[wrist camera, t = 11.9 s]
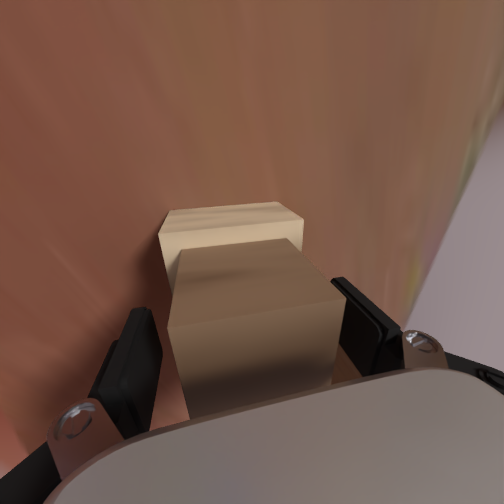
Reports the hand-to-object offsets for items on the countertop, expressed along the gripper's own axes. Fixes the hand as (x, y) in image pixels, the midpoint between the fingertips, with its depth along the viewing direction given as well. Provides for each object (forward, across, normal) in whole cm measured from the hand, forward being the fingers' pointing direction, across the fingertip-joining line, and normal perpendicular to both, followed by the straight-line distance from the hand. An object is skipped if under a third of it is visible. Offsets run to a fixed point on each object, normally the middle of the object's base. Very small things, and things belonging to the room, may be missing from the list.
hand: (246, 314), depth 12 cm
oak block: (+7, 0, 0) cm, 7 cm away
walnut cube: (+2, 0, 0) cm, 2 cm away
